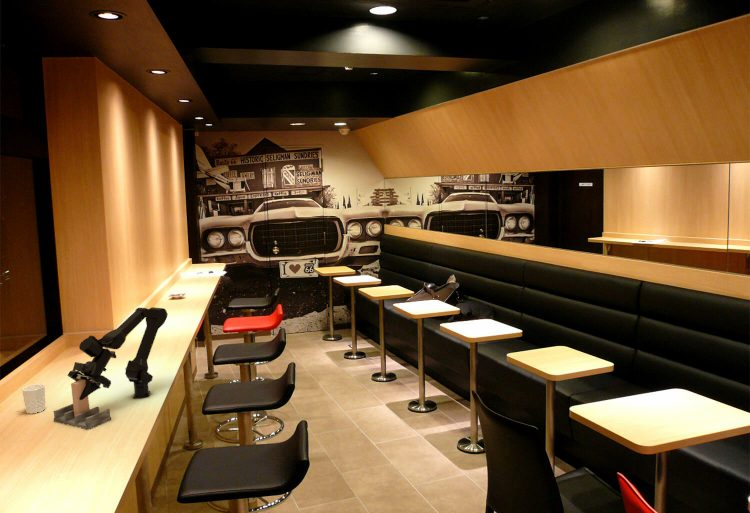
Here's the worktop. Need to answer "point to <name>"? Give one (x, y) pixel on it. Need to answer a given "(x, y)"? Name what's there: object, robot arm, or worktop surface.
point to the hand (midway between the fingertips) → (77, 399)
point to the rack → (82, 417)
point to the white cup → (34, 398)
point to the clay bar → (79, 404)
